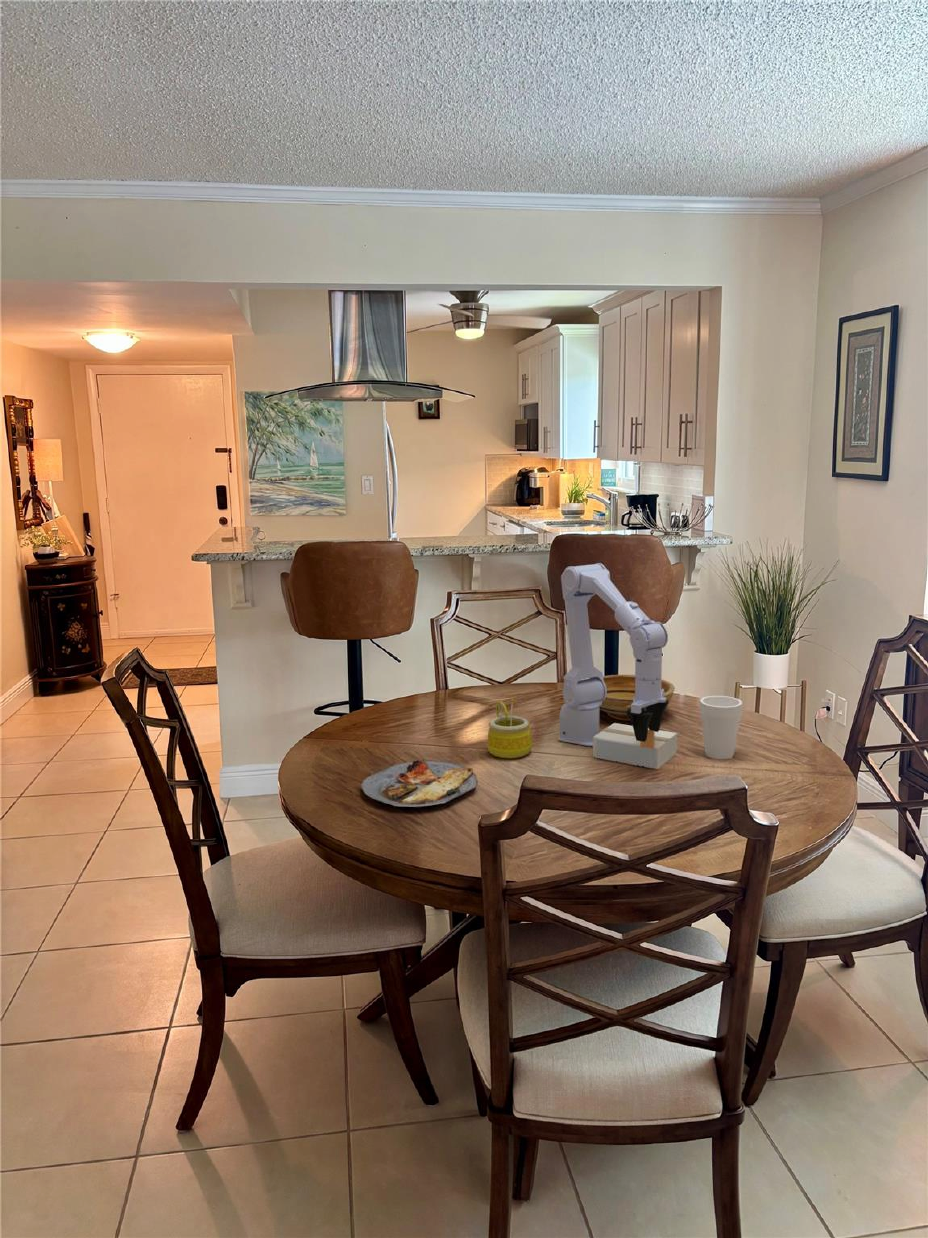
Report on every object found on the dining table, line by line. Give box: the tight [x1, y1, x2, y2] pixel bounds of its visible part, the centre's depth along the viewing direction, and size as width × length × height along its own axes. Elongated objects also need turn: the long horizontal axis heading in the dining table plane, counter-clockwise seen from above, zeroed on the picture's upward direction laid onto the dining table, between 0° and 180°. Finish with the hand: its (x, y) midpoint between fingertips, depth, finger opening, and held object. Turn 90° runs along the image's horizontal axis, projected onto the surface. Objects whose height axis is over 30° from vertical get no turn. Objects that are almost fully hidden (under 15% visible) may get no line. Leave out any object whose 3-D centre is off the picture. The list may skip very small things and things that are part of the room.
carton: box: [592, 722, 678, 770], centre depth 209 cm, size 16×12×5 cm
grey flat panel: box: [595, 730, 655, 769], centre depth 203 cm, size 14×1×9 cm, turn 56°
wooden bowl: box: [599, 674, 676, 721], centre depth 240 cm, size 30×24×8 cm
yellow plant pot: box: [486, 698, 534, 759], centre depth 213 cm, size 13×11×12 cm
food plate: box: [361, 758, 479, 809], centre depth 192 cm, size 25×23×4 cm
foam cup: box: [699, 695, 743, 760], centre depth 207 cm, size 10×9×13 cm
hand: (647, 735), depth 199 cm, fingers open, 7 cm apart
